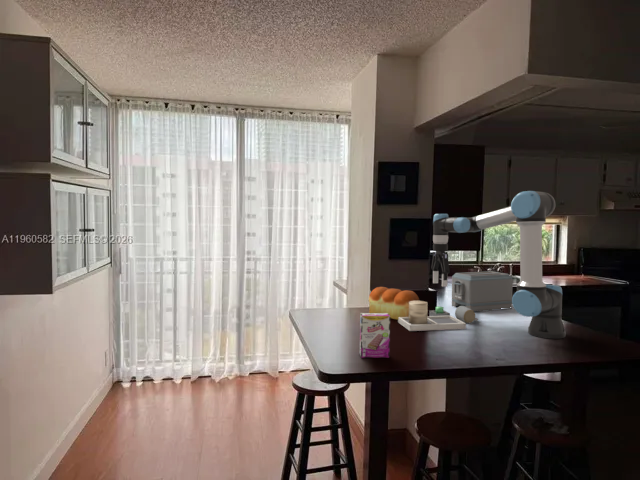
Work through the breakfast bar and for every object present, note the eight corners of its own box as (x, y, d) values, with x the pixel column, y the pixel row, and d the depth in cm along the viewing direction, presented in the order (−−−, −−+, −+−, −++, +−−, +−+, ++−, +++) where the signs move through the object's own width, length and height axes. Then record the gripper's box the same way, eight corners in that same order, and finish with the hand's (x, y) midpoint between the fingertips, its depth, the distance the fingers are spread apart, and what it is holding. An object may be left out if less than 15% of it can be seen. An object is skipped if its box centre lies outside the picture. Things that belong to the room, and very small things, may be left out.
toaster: (445, 306, 261) (446, 272, 260) (491, 303, 272) (492, 270, 271) (464, 312, 244) (465, 276, 243) (513, 309, 254) (513, 274, 253)
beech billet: (430, 324, 209) (430, 304, 209) (412, 325, 208) (412, 304, 207) (423, 320, 218) (423, 300, 218) (406, 320, 217) (406, 301, 216)
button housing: (449, 319, 226) (449, 313, 226) (435, 320, 225) (435, 313, 225) (443, 316, 234) (443, 310, 234) (429, 317, 233) (429, 310, 233)
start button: (444, 315, 228) (444, 307, 227) (437, 315, 227) (437, 308, 227) (441, 313, 232) (441, 306, 231) (434, 314, 231) (434, 306, 231)
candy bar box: (360, 358, 164) (361, 315, 163) (359, 354, 169) (359, 312, 168) (390, 358, 164) (390, 315, 163) (387, 354, 169) (388, 312, 168)
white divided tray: (465, 328, 208) (465, 323, 208) (409, 331, 204) (409, 325, 204) (450, 320, 224) (450, 315, 224) (398, 322, 220) (398, 317, 220)
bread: (419, 318, 231) (419, 290, 231) (406, 321, 223) (406, 293, 222) (382, 311, 249) (382, 285, 248) (368, 314, 240) (368, 287, 240)
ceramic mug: (464, 324, 217) (464, 309, 217) (454, 320, 225) (454, 305, 224) (481, 323, 220) (482, 308, 220) (471, 319, 228) (472, 305, 228)
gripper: (457, 244, 217) (456, 288, 218) (438, 241, 240) (437, 281, 241) (443, 244, 216) (442, 288, 217) (425, 242, 239) (424, 281, 240)
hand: (439, 284), depth 229 cm, fingers open, 11 cm apart
